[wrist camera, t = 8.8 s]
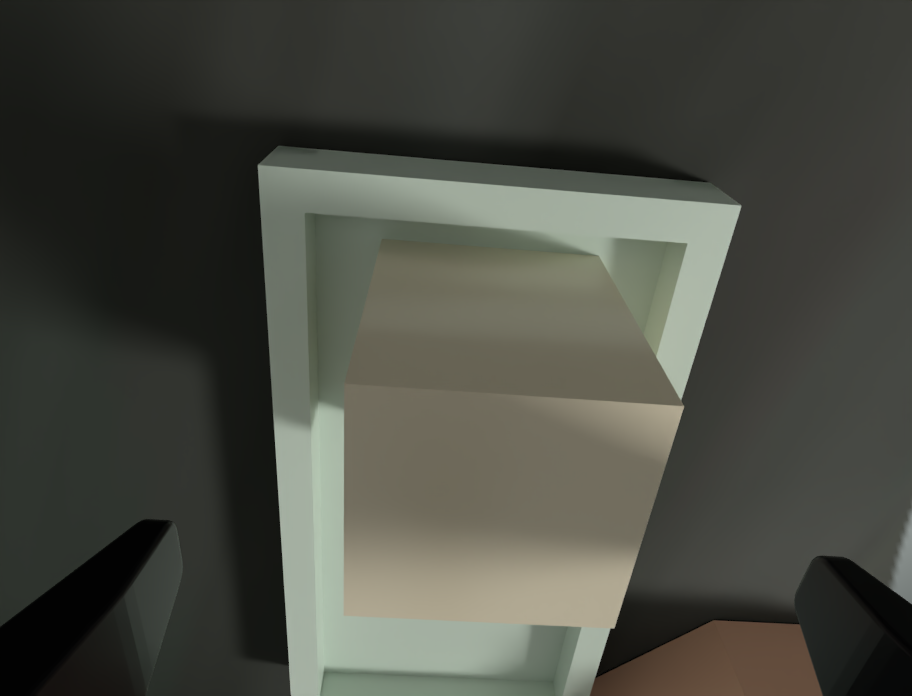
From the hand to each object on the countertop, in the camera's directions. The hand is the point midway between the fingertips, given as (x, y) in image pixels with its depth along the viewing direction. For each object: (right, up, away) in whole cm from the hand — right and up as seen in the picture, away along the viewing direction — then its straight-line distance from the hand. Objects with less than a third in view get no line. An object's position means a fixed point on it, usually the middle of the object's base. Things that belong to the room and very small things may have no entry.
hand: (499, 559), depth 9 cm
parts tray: (0, -1, +8) cm, 8 cm away
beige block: (0, +3, +5) cm, 6 cm away
